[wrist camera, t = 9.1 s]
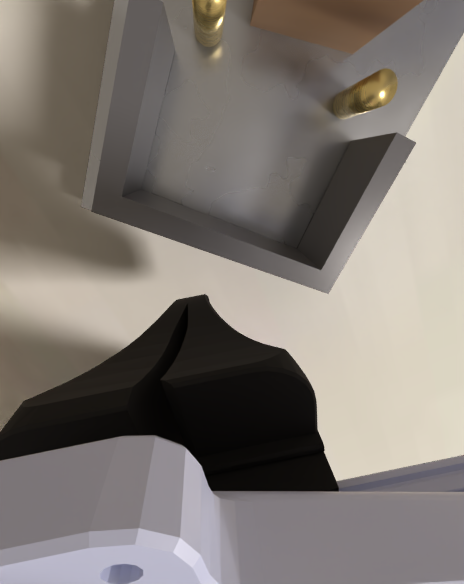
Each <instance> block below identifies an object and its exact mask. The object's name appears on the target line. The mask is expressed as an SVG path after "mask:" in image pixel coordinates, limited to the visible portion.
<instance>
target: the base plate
mask: <svg viewBox="0 0 464 584" xmlns="http://www.w3.org/2000/svg"><path fill="white" fill-rule="evenodd" d="M128 1H129V0H114V6H113V12H112V18H111V25H110V31H109V37H108V43H107V49H106V56H105V62H104V68H103V74H102V80H101V87H100V93H99V99H98V105H97V111H96V118H95V124H94V130H93V136H92V142H91V149H90V155H89V161H88V167H87V173H86V180H85V186H84V192H83V198H82V204H81V207H83V208H86V209H88V210H92V205H93V199H94V193H95V188H96V182H97V176H98V171H99V165H100V159H101V154H102V148H103V143H104V137H105V131H106V126H107V120H108V114H109V109H110V103H111V97H112V92H113V86H114V80H115V75H116V69H117V63H118V58H119V52H120V46H121V41H122V35H123V29H124V24H125V18H126V12H127V7H128ZM160 1H162V2H163V3H164V7H165V11H166V15H167V19H168V23H169V27H170V31H171V35H172V39H173V43H174V47H175V52H174V56H173V60H172V65H171V69H170V73H169V77H168V81H167V85H166V89H165V94H164V98H163V102H162V106H161V110H160V114H159V119H158V123H157V127H156V131H155V135H154V139H153V144H152V148H151V152H150V156H149V160H148V164H147V168H146V173H145V177H144V181H143V185H142V189H141V190H144V191H147V192H149V193H152V194H154V195H157V196H160V197H162V198H165V199H168V200H170V201H173V202H175V203H178V204H181V205H183V206H186V207H188V208H191V209H194V210H196V211H199V212H202V213H204V214H207V215H209V216H212V217H215V218H217V219H220V220H222V221H225V222H228V223H230V224H233V225H236V226H238V227H241V228H243V229H246V230H249V231H251V232H254V233H257V234H259V235H262V236H264V237H267V238H270V239H272V240H275V241H277V242H280V243H283V244H285V245H288V246H291V247H293V248H296V249H297V248H298V246H299V244H300V242H301V240H302V238H303V236H304V234H305V232H306V230H307V228H308V226H309V224H310V222H311V220H312V218H313V216H314V214H315V212H316V210H317V208H318V206H319V204H320V202H321V200H322V198H323V196H324V194H325V192H326V190H327V188H328V186H329V184H330V182H331V179H332V177H333V175H334V173H335V171H336V169H337V167H338V165H339V163H340V161H341V159H342V157H343V155H344V153H345V151H346V149H347V147H348V145H349V143H350V141H352V140H357V139H363V138H368V137H374V136H379V135H385V134H391V133H396V132H397V133H399V134H401V135H403V136H406V134H407V132H408V131H409V129H410V127H411V125H412V124H413V122H414V120H415V118H416V116H417V115H418V113H419V111H420V109H421V108H422V106H423V104H424V102H425V100H426V99H427V97H428V95H429V93H430V92H431V90H432V88H433V86H434V84H435V83H436V81H437V79H438V77H439V76H440V74H441V72H442V70H443V68H444V67H445V65H446V63H447V61H448V60H449V58H450V56H451V54H452V52H453V51H454V49H455V47H456V45H457V44H458V42H459V40H460V38H461V36H462V35H463V33H464V0H423V1H422V2H421V3H419V4H418V5H417V6H415V7H414V8H413V9H412V10H410V11H409V12H408V13H406V14H405V15H404V16H402V17H401V18H400V19H398V20H397V21H396V22H394V23H393V24H392V25H391V26H389V27H388V28H387V29H385V30H384V31H383V32H381V33H380V34H379V35H377V36H376V37H375V38H373V39H372V40H371V41H369V42H368V43H367V44H366V45H364V46H363V47H362V48H360V49H359V50H358V51H356V52H355V53H354V54H350V53H347V52H343V51H339V50H336V49H332V48H329V47H325V46H321V45H318V44H314V43H311V42H307V41H303V40H300V39H296V38H293V37H289V36H285V35H282V34H278V33H275V32H271V31H267V30H264V29H260V28H257V27H253V26H250V22H251V15H252V8H253V2H254V0H160Z"/></svg>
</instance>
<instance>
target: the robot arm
mask: <svg viewBox="0 0 464 584" xmlns="http://www.w3.org/2000/svg"><path fill="white" fill-rule="evenodd" d="M0 584H464V455H461V456H457V457H452V458H447V459H442V460H437V461H432V462H428V463H423V464H418V465H413V466H408V467H403V468H399V469H394V470H389V471H384V472H379V473H374V474H370V475H365V476H360V477H355V478H350V479H346V480H341V481H336V480H335V477H334V475H333V472H332V470H331V468H330V465H329V463H328V461H327V458H326V456H325V454H324V444H323V442H322V439H321V437H320V435H319V432H318V430H317V404H316V397H315V393H314V390H313V388H312V386H311V384H310V382H309V380H308V379H307V377H306V375H305V374H304V372H303V371H302V370H301V368H300V367H299V365H298V364H297V363H296V361H295V360H294V359H293V358H292V357H291V355H290V354H289V353H288V352H287V351H286V350H285V349H282V348H278V347H274V346H270V345H266V344H262V343H260V342H257V341H255V340H252V339H250V338H248V337H246V336H244V335H242V334H240V333H239V332H237V331H236V330H234V329H233V328H232V327H231V326H229V325H228V324H227V323H226V322H225V321H224V320H223V319H222V318H221V317H220V316H219V315H218V314H217V312H216V311H215V310H214V309H213V307H212V306H211V304H210V302H209V298H208V296H207V295H205V294H204V295H199V296H194V297H189V298H183V299H178V300H176V301H175V302H174V303H173V304H172V305H171V306H170V307H169V308H168V309H167V310H166V311H165V312H164V313H163V314H162V315H161V316H160V318H159V319H158V320H157V321H156V322H155V323H154V324H153V325H151V326H150V327H149V328H148V329H147V330H146V331H145V332H144V333H143V334H142V335H141V336H140V337H138V338H137V339H136V340H135V341H134V342H132V343H131V344H130V345H128V346H127V347H126V348H124V349H123V350H121V351H120V352H119V353H117V354H115V355H114V356H112V357H111V358H109V359H108V360H106V361H105V362H103V363H101V364H100V365H98V366H96V367H95V368H93V369H91V370H89V371H87V372H86V373H84V374H82V375H80V376H78V377H76V378H74V379H72V380H70V381H68V382H66V383H64V384H62V385H60V386H57V387H55V388H53V389H51V390H48V391H46V392H44V393H42V394H39V395H37V396H35V397H33V398H30V399H28V400H25V401H24V402H23V403H22V404H21V405H20V407H19V408H18V409H17V411H16V412H15V413H14V415H13V416H12V417H11V419H10V420H9V421H8V423H7V424H6V425H5V427H4V428H3V429H2V431H1V432H0Z"/></svg>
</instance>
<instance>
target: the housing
mask: <svg viewBox="0 0 464 584" xmlns="http://www.w3.org/2000/svg"><path fill="white" fill-rule="evenodd" d="M174 52H175V47H174V43H173V39H172V35H171V31H170V27H169V23H168V19H167V15H166V11H165V7H164V3H163V2H162V1H160V0H129V1H128V7H127V12H126V18H125V24H124V29H123V35H122V41H121V46H120V52H119V58H118V63H117V69H116V75H115V80H114V86H113V92H112V97H111V103H110V109H109V114H108V120H107V126H106V131H105V137H104V143H103V148H102V154H101V159H100V165H99V171H98V176H97V182H96V188H95V193H94V199H93V205H92V210H91V212H94V213H97V214H100V215H103V216H106V217H108V218H111V219H114V220H117V221H120V222H123V223H126V224H129V225H131V226H134V227H137V228H140V229H143V230H146V231H149V232H152V233H154V234H157V235H160V236H163V237H166V238H169V239H172V240H175V241H178V242H180V243H183V244H186V245H189V246H192V247H195V248H198V249H201V250H203V251H206V252H209V253H212V254H215V255H218V256H221V257H224V258H226V259H229V260H232V261H235V262H238V263H241V264H244V265H247V266H249V267H252V268H255V269H258V270H261V271H264V272H267V273H270V274H272V275H275V276H278V277H281V278H284V279H287V280H290V281H293V282H296V283H298V284H301V285H304V286H307V287H310V288H313V289H316V290H319V291H321V292H324V293H327V294H329V292H330V290H331V288H332V287H333V285H334V283H335V282H336V280H337V278H338V276H339V275H340V273H341V271H342V270H343V268H344V266H345V264H346V263H347V261H348V259H349V258H350V256H351V254H352V252H353V251H354V249H355V247H356V245H357V244H358V242H359V240H360V239H361V237H362V235H363V233H364V232H365V230H366V228H367V227H368V225H369V223H370V221H371V220H372V218H373V216H374V214H375V213H376V211H377V209H378V208H379V206H380V204H381V202H382V201H383V199H384V197H385V196H386V194H387V192H388V190H389V189H390V187H391V185H392V184H393V182H394V180H395V178H396V177H397V175H398V173H399V171H400V170H401V168H402V166H403V165H404V163H405V161H406V159H407V158H408V156H409V154H410V153H411V151H412V149H413V147H414V146H415V144H416V143H415V142H414V141H412V140H410V139H408V138H406V137H405V136H403V135H401V134H399V133H397V132H396V133H391V134H385V135H379V136H374V137H368V138H363V139H357V140H352V141H350V143H349V145H348V147H347V149H346V151H345V153H344V155H343V157H342V159H341V161H340V163H339V165H338V167H337V169H336V171H335V173H334V175H333V177H332V179H331V182H330V184H329V186H328V188H327V190H326V192H325V194H324V196H323V198H322V200H321V202H320V204H319V206H318V208H317V210H316V212H315V214H314V216H313V218H312V220H311V222H310V224H309V226H308V228H307V230H306V232H305V234H304V236H303V238H302V240H301V242H300V244H299V246H298V248H297V249H296V248H293V247H291V246H288V245H285V244H283V243H280V242H277V241H275V240H272V239H270V238H267V237H264V236H262V235H259V234H257V233H254V232H251V231H249V230H246V229H243V228H241V227H238V226H236V225H233V224H230V223H228V222H225V221H222V220H220V219H217V218H215V217H212V216H209V215H207V214H204V213H202V212H199V211H196V210H194V209H191V208H188V207H186V206H183V205H181V204H178V203H175V202H173V201H170V200H168V199H165V198H162V197H160V196H157V195H154V194H152V193H149V192H147V191H144V190H141V189H142V185H143V181H144V177H145V173H146V168H147V164H148V160H149V156H150V152H151V148H152V144H153V139H154V135H155V131H156V127H157V123H158V119H159V114H160V110H161V106H162V102H163V98H164V94H165V89H166V85H167V81H168V77H169V73H170V69H171V65H172V60H173V56H174Z"/></svg>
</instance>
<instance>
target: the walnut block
mask: <svg viewBox="0 0 464 584" xmlns="http://www.w3.org/2000/svg"><path fill="white" fill-rule="evenodd" d="M422 1H423V0H254V2H253V8H252V15H251V22H250V26H253V27H257V28H260V29H264V30H267V31H271V32H275V33H278V34H282V35H285V36H289V37H293V38H296V39H300V40H303V41H307V42H311V43H314V44H318V45H321V46H325V47H329V48H332V49H336V50H339V51H343V52H347V53H350V54H354V53H355V52H356V51H358V50H359V49H360V48H362V47H363V46H364V45H366V44H367V43H368V42H369V41H371V40H372V39H373V38H375V37H376V36H377V35H379V34H380V33H381V32H383V31H384V30H385V29H387V28H388V27H389V26H391V25H392V24H393V23H394V22H396V21H397V20H398V19H400V18H401V17H402V16H404V15H405V14H406V13H408V12H409V11H410V10H412V9H413V8H414V7H415V6H417V5H418V4H419V3H421V2H422Z"/></svg>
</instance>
